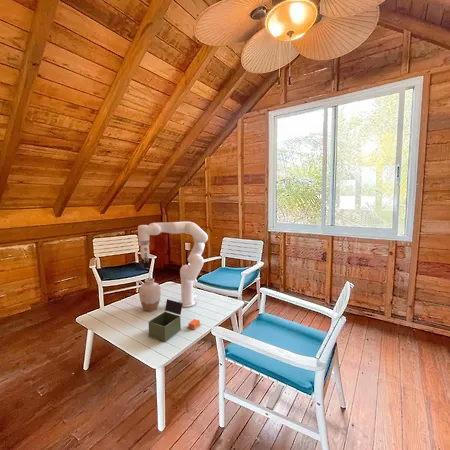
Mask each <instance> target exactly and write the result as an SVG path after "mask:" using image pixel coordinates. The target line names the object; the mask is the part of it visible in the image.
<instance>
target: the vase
mask: <svg viewBox="0 0 450 450" xmlns="http://www.w3.org/2000/svg"><path fill="white" fill-rule="evenodd" d="M161 295H162V291H161V285H160V284H159V283H157V282H155V278H152V277H149V278H146V279H144V283H142V284H141V285H140V286H139V289H138V296H139V302H140V304H141V307H142V308H143V310H144V311H145V312H153V311H156V310H157V309H158V307H159V305H160V301H161Z"/></svg>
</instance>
